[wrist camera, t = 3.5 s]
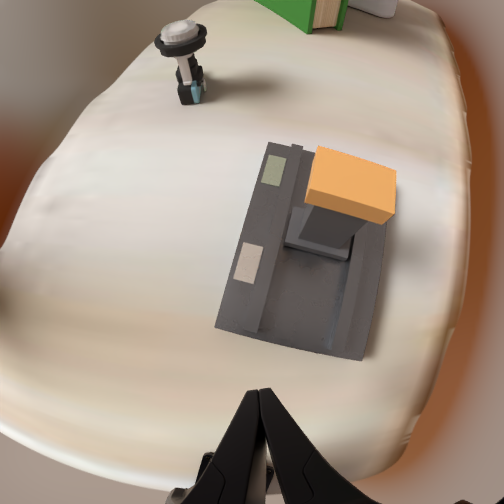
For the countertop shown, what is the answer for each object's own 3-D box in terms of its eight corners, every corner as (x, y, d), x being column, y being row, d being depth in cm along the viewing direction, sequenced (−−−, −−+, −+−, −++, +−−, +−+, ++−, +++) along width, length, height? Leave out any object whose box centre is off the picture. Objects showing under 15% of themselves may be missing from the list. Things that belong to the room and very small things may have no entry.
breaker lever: (343, 260, 21) (399, 219, 12) (283, 245, 22) (302, 190, 12) (349, 226, 22) (400, 169, 13) (291, 210, 22) (313, 141, 13)
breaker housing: (353, 358, 21) (367, 363, 18) (217, 326, 22) (211, 327, 19) (381, 185, 25) (394, 170, 22) (267, 153, 26) (269, 134, 23)
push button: (178, 75, 30) (161, 16, 20) (218, 71, 30) (209, 9, 20) (169, 109, 28) (146, 44, 18) (214, 104, 28) (201, 35, 18)
